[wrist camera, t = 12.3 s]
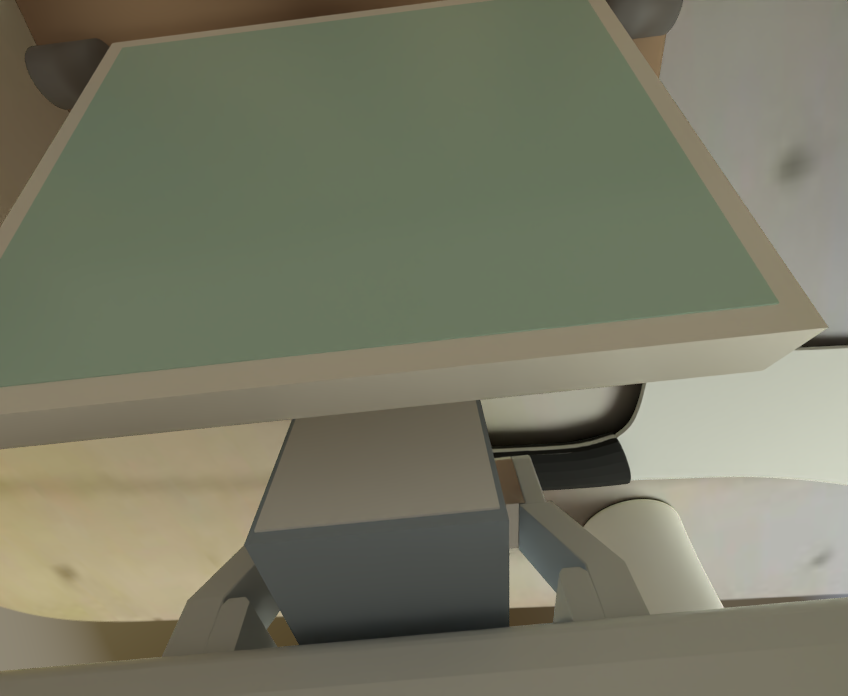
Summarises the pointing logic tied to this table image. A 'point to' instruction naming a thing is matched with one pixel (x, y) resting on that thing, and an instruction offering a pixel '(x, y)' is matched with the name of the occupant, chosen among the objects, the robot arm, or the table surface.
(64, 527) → the table surface
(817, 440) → the kitchen cleaver
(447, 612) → the grey rectangular prism
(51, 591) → the table surface
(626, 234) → the tile
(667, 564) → the cosmetic bottle
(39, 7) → the hinge board
